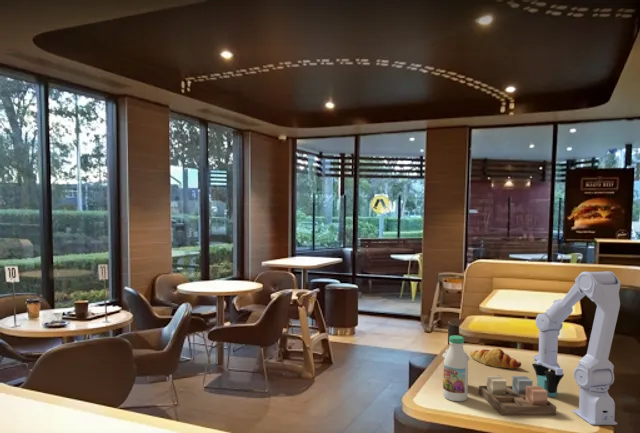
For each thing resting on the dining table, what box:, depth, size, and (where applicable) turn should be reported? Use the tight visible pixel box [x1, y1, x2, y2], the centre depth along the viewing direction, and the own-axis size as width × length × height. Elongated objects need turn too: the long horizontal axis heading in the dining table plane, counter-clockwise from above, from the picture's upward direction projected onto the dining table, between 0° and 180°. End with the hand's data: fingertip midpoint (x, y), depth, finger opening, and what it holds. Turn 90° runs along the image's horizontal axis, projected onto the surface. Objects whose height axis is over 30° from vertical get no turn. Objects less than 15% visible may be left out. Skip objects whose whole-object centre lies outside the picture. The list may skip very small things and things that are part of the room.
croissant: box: [469, 348, 522, 370], centre depth 188 cm, size 21×10×8 cm, turn 47°
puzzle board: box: [478, 375, 557, 416], centre depth 149 cm, size 17×17×6 cm
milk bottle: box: [442, 334, 469, 402], centre depth 153 cm, size 8×8×20 cm
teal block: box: [536, 375, 558, 397], centre depth 158 cm, size 4×4×6 cm
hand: (546, 388), depth 158 cm, fingers open, 6 cm apart
